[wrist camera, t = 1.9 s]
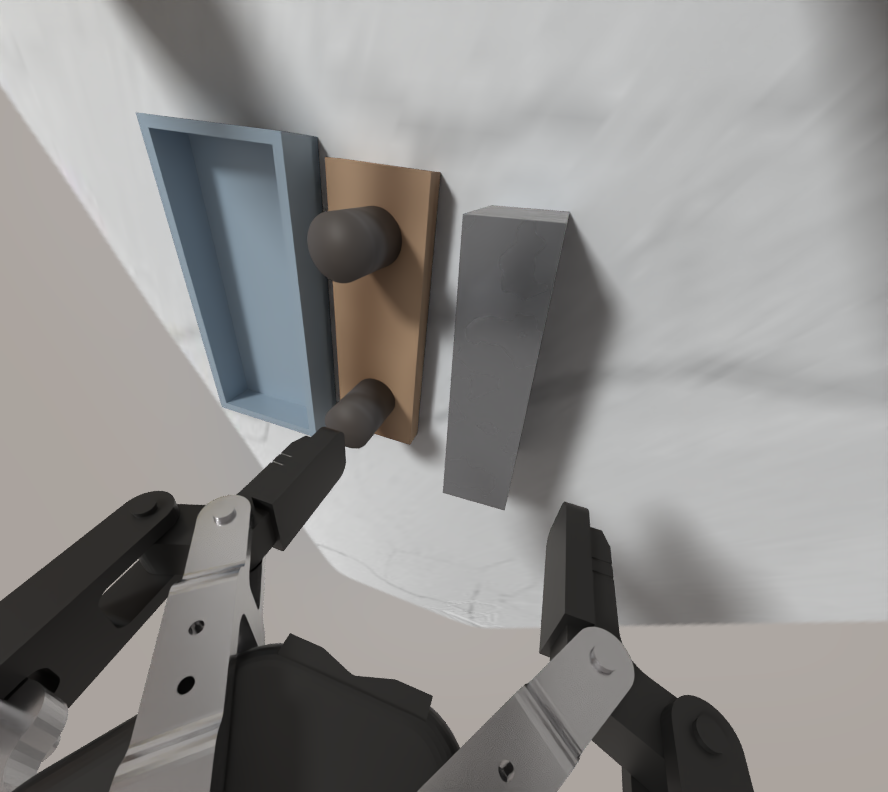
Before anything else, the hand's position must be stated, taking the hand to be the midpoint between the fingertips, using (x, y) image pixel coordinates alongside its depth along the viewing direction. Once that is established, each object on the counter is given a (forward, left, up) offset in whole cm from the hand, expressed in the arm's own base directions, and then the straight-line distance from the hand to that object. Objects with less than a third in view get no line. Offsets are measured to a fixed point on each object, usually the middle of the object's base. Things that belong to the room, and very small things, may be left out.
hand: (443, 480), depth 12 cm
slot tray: (+17, 0, -12) cm, 21 cm away
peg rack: (+8, 0, -12) cm, 15 cm away
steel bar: (0, 0, -13) cm, 13 cm away
